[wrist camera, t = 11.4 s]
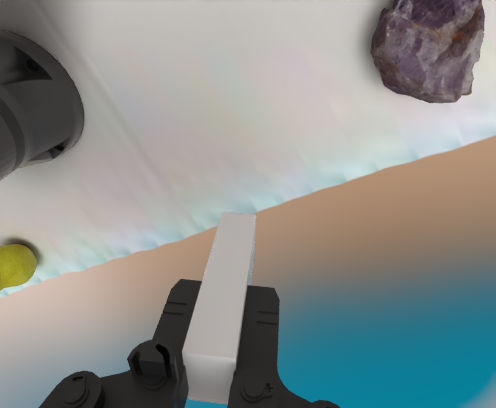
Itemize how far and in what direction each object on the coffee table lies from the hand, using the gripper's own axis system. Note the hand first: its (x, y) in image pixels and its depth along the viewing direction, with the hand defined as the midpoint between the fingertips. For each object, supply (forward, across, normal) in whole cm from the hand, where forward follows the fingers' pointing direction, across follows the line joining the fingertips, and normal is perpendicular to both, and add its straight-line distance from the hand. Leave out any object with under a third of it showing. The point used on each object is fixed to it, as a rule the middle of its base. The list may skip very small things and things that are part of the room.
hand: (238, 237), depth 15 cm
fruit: (+27, -40, -31) cm, 57 cm away
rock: (+27, +14, +5) cm, 30 cm away
